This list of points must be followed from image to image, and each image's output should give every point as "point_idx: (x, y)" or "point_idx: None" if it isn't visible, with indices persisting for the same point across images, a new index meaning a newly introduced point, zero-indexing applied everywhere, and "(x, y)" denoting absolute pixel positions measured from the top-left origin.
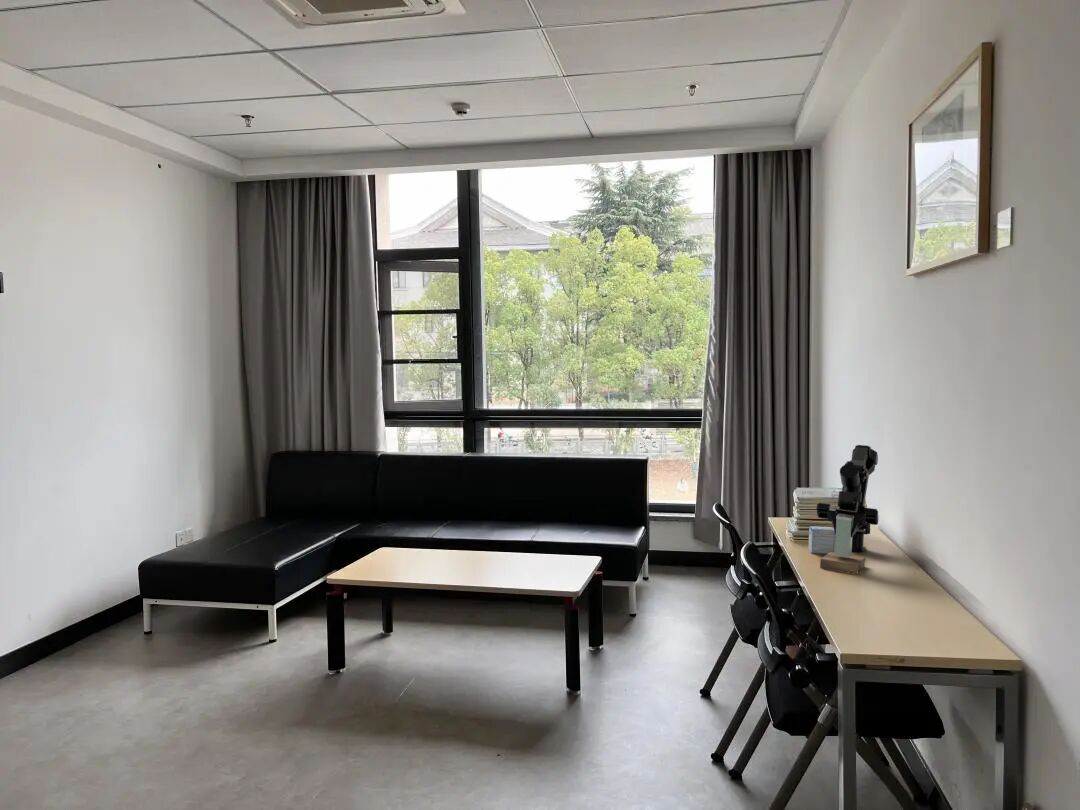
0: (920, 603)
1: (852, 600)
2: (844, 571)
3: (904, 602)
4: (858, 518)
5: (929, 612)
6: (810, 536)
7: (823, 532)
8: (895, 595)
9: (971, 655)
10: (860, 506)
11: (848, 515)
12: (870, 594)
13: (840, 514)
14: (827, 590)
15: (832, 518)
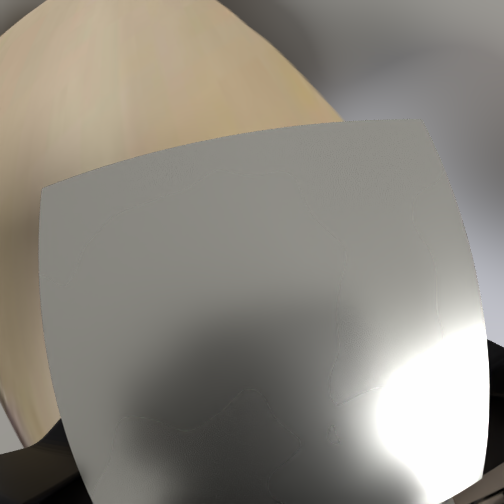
0: (13, 120)
1: (141, 28)
2: None
3: (39, 98)
4: (30, 456)
5: (12, 90)
6: None
7: (447, 500)
8: (48, 123)
9: (18, 23)
10: None
11: (200, 481)
12: (103, 82)
13: (438, 429)
14: (208, 36)
15: (491, 347)
